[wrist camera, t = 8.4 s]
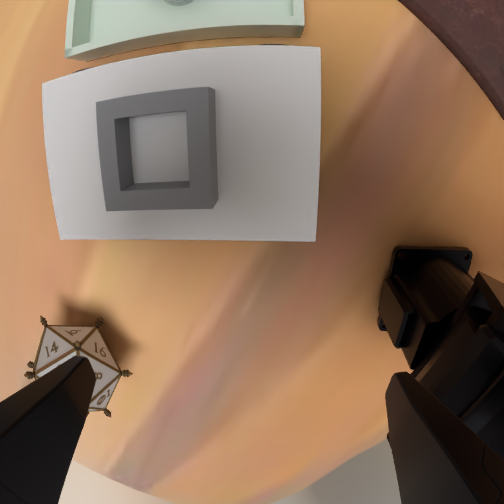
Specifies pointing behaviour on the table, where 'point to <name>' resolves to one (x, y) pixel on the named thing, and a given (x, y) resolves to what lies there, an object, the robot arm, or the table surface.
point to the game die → (84, 344)
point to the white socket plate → (188, 146)
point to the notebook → (470, 38)
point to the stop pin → (178, 2)
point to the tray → (172, 23)
